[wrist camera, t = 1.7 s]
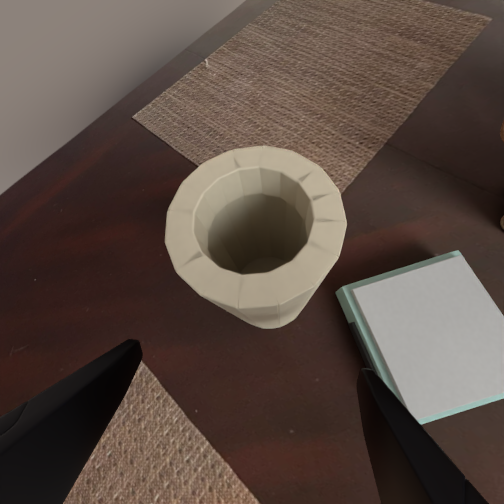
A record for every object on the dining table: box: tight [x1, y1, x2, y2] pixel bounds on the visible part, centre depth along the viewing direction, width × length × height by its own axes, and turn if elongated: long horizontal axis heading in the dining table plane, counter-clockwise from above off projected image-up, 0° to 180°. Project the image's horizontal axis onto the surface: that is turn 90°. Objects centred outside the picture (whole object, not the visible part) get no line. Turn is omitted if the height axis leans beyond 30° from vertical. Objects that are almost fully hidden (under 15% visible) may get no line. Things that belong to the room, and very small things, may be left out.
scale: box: [335, 250, 504, 425], centre depth 18 cm, size 10×10×3 cm
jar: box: [165, 146, 347, 329], centre depth 16 cm, size 7×7×14 cm
